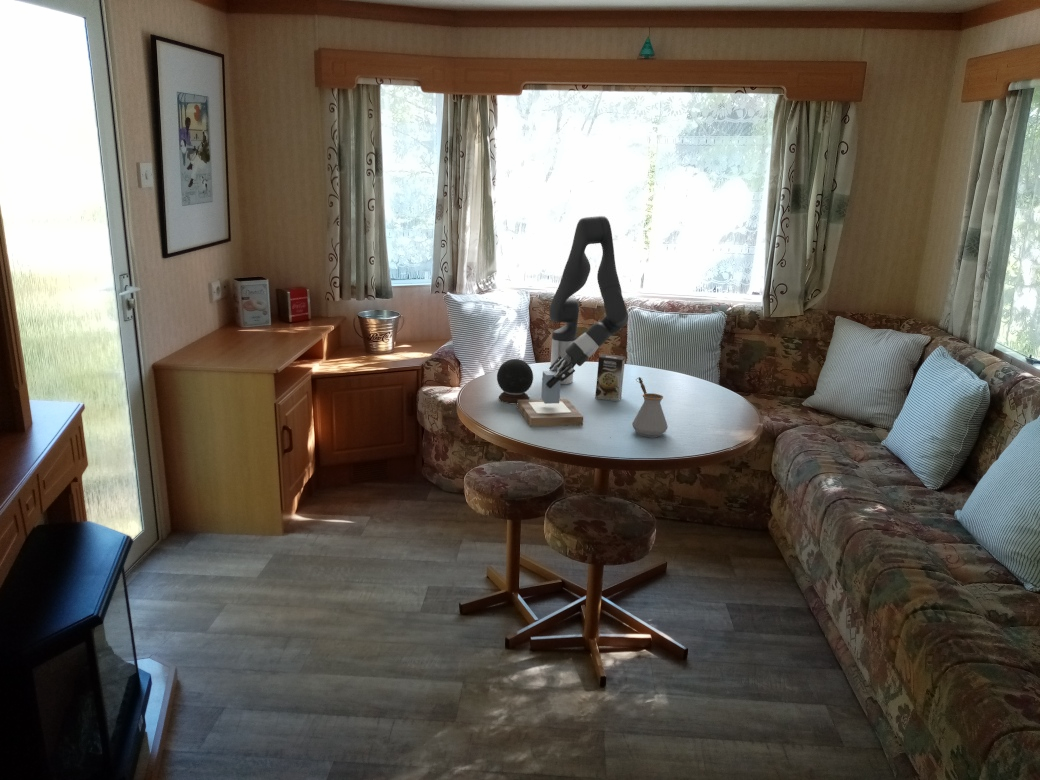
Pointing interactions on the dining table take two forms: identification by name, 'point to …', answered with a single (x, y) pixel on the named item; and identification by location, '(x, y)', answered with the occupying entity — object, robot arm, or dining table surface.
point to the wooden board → (549, 413)
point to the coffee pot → (650, 415)
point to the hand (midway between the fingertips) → (545, 383)
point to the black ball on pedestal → (514, 380)
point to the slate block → (550, 389)
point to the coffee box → (610, 377)
